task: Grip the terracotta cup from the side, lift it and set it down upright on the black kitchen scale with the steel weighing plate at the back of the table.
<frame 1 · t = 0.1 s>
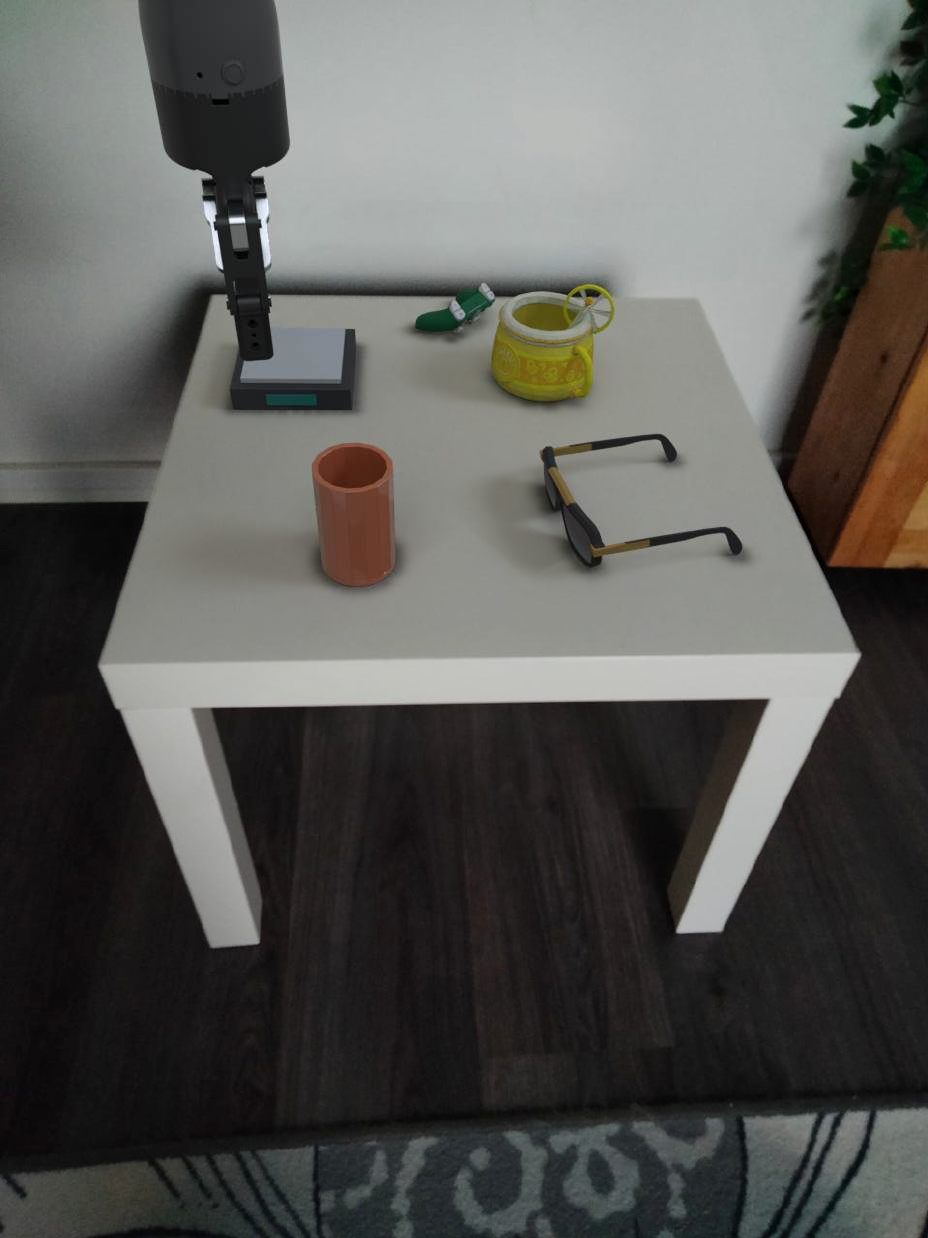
hand: (253, 325, 63), 20 cm above the table, tool pointing down, fingers open, 8 cm apart
cup: (358, 561, 76), on the table
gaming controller: (457, 325, 104), on the table
mug: (544, 387, 96), on the table
sunglasses: (629, 518, 82), on the table
scale: (297, 377, 95), on the table
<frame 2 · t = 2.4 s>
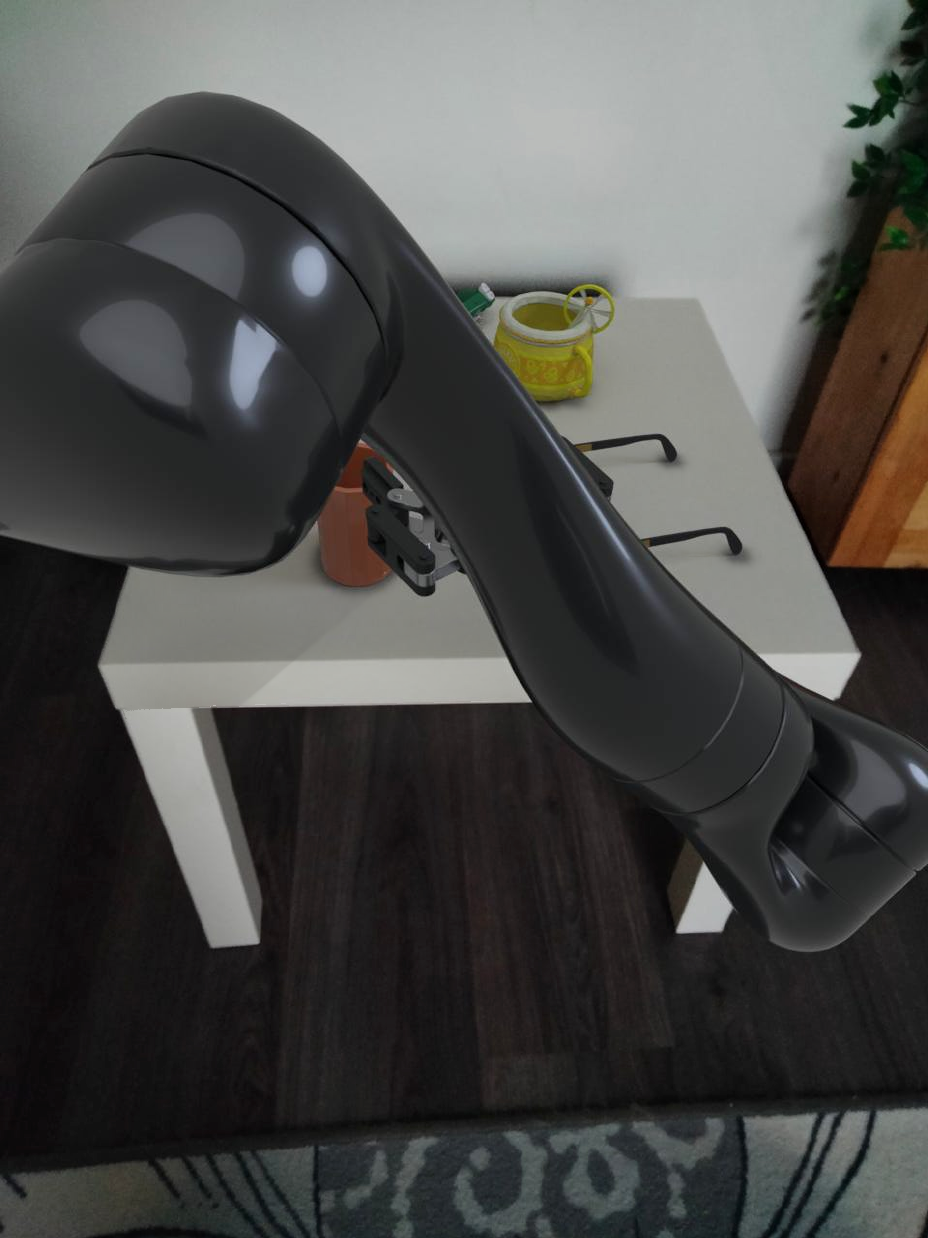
hand: (427, 448, 57), 18 cm above the table, tool horizontal, fingers open, 8 cm apart
nothing on the table moved.
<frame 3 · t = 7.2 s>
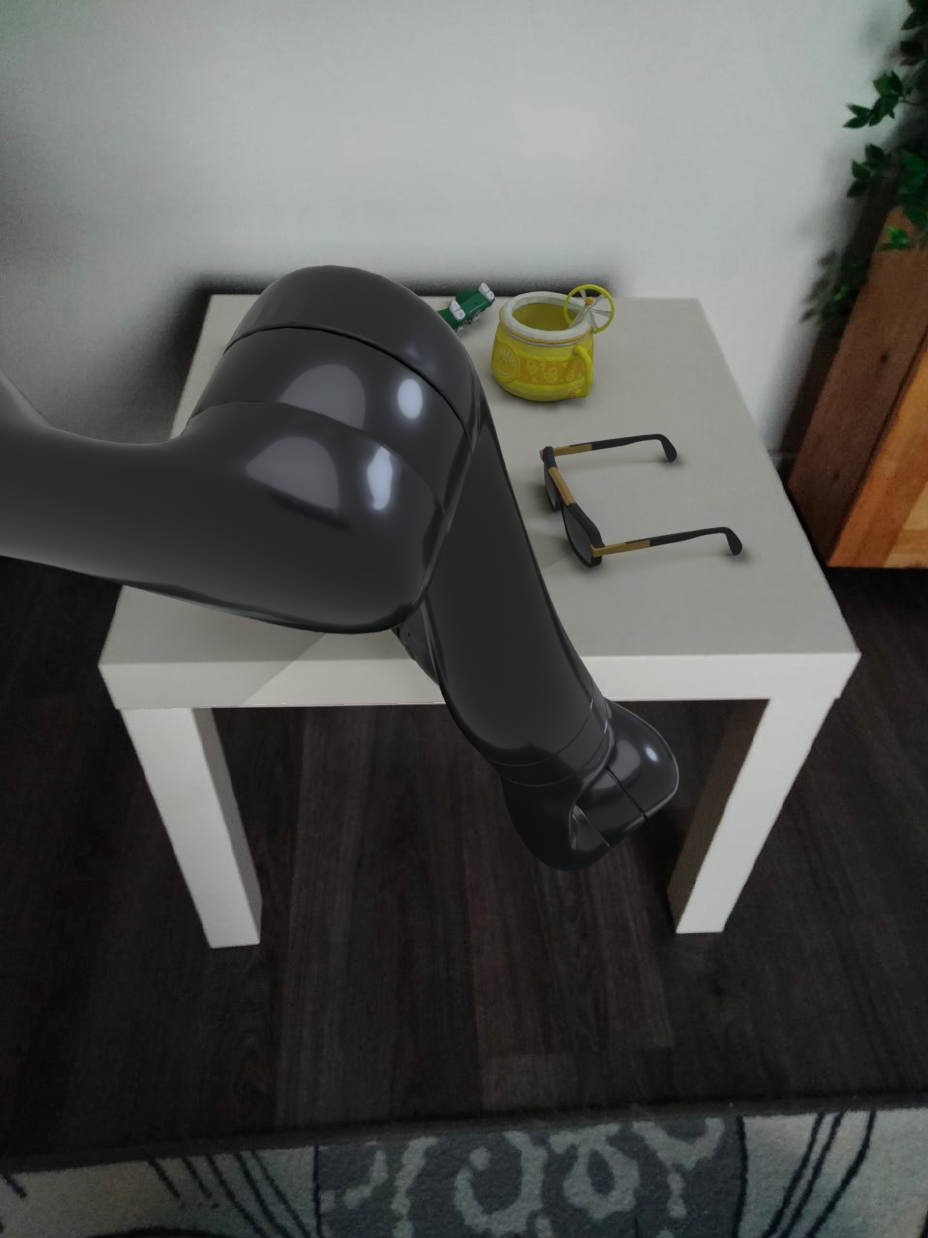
hand: (341, 490, 73), 6 cm above the table, tool horizontal, fingers closed on cup, 6 cm apart
cup: (358, 560, 76), on the table, touching gripper
everything else where it was.
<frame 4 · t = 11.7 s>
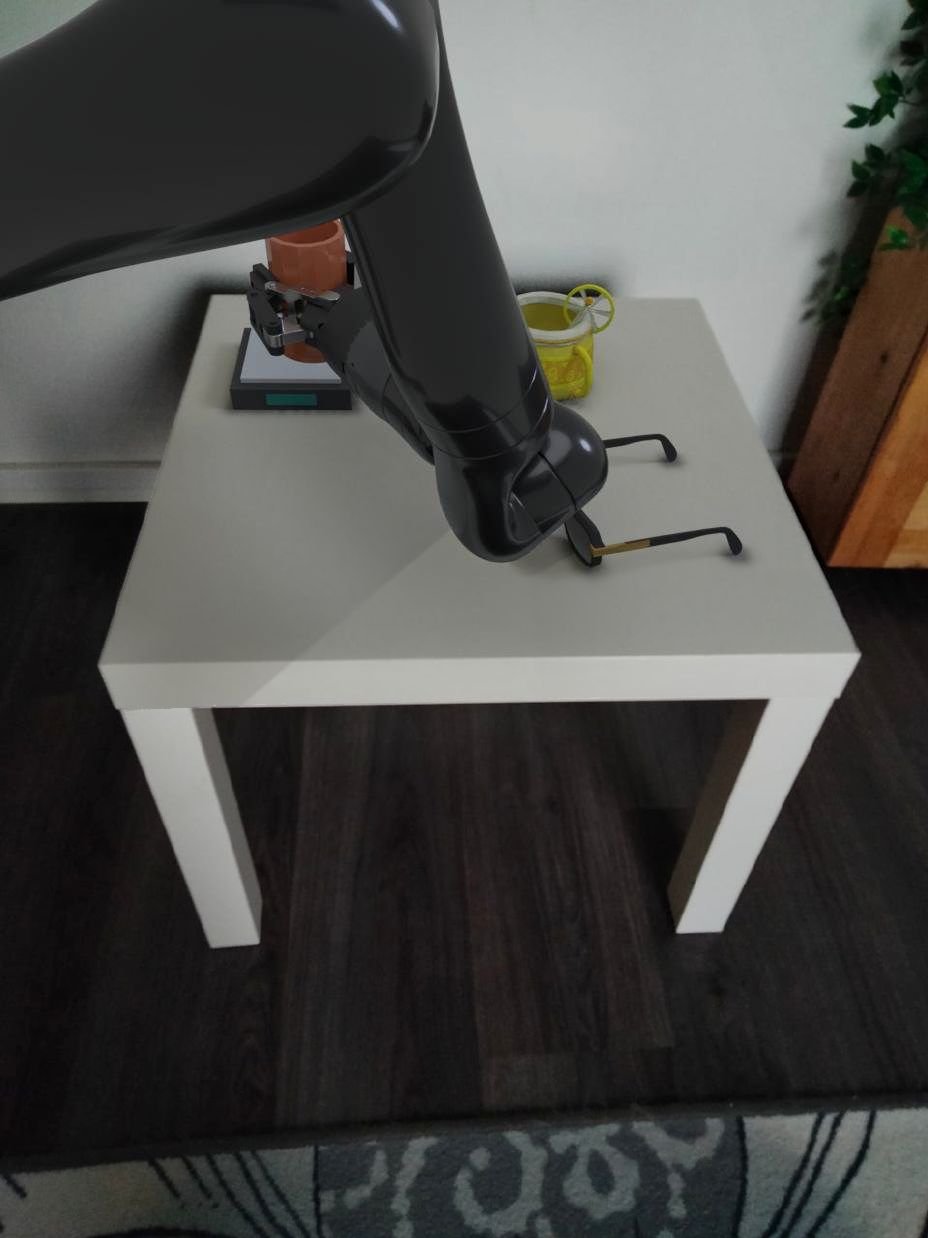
hand: (296, 266, 74), 18 cm above the table, tool horizontal, fingers closed on cup, 6 cm apart
cup: (315, 344, 77), point 12 cm above the table, touching gripper
everything else where it was.
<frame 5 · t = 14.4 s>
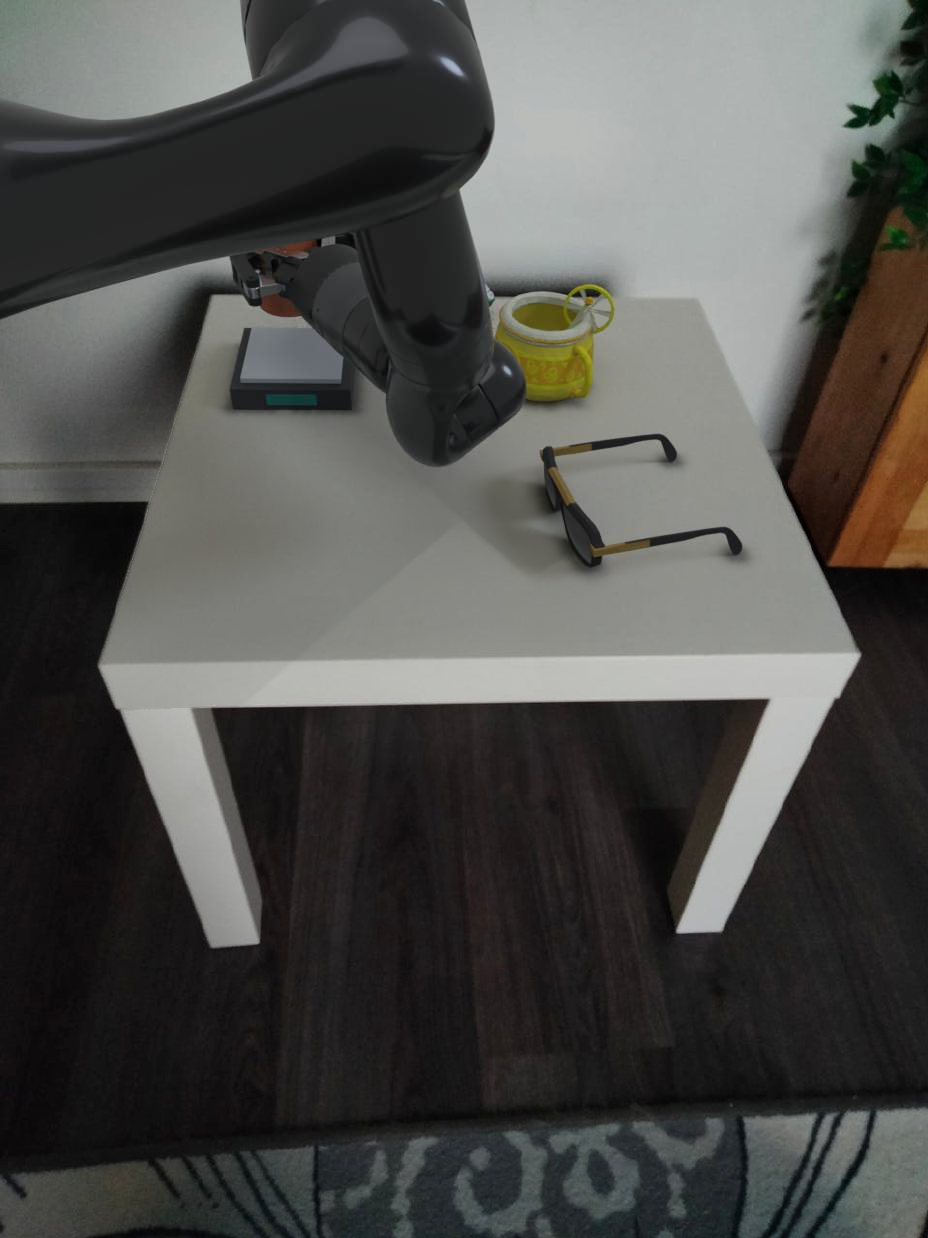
hand: (273, 232, 86), 15 cm above the table, tool horizontal, fingers closed on cup, 6 cm apart
cup: (290, 301, 89), point 9 cm above the table, touching gripper
everything else where it was.
when the fingers open (9 cm above the table, at t = 16.5 s): cup stays where it is, resting on scale.
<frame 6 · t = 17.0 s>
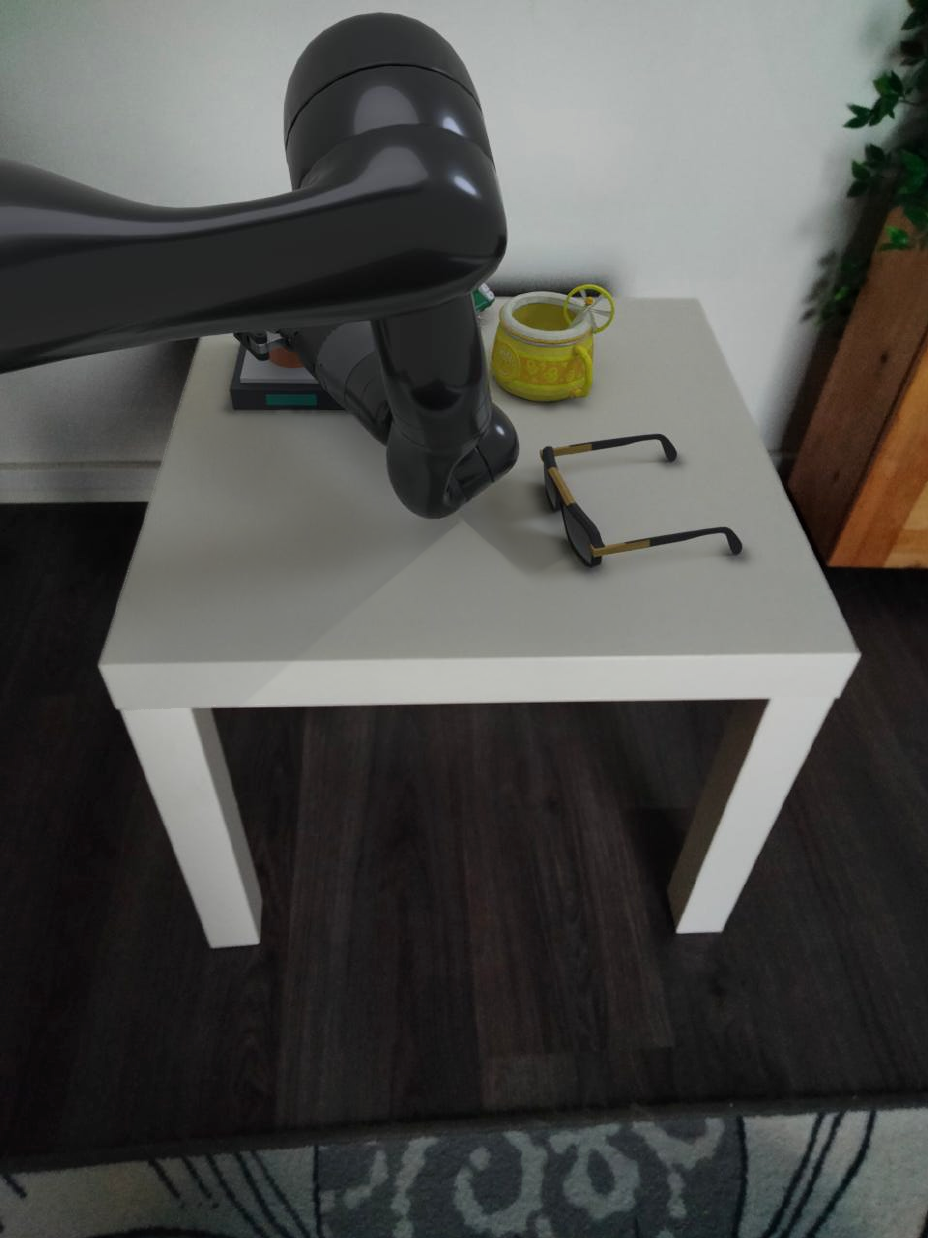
hand: (279, 284, 89), 9 cm above the table, tool horizontal, fingers open, 8 cm apart
cup: (296, 351, 93), point 3 cm above the table, touching scale
everything else where it was.
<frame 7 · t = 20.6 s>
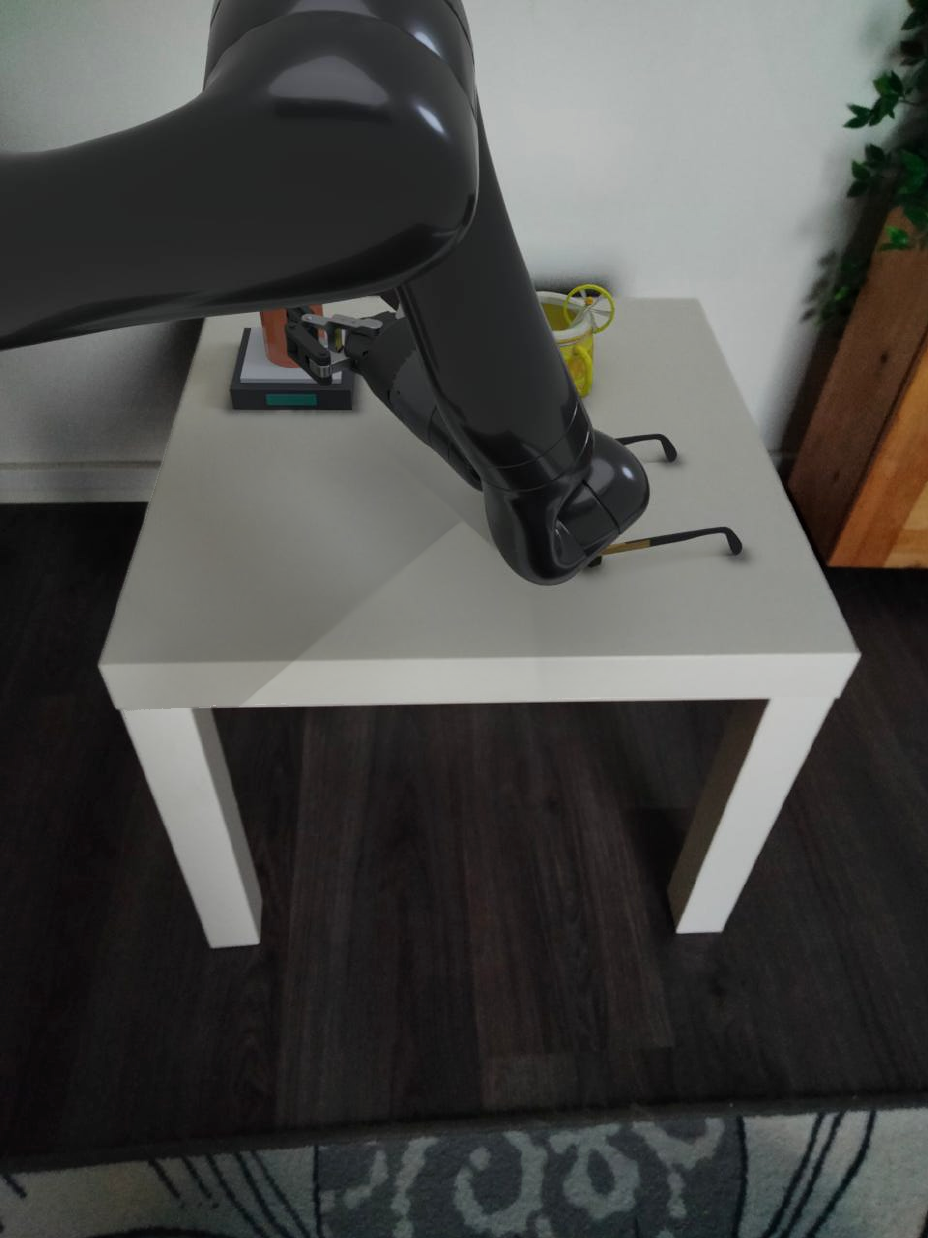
hand: (337, 294, 77), 15 cm above the table, tool horizontal, fingers open, 8 cm apart
nothing on the table moved.
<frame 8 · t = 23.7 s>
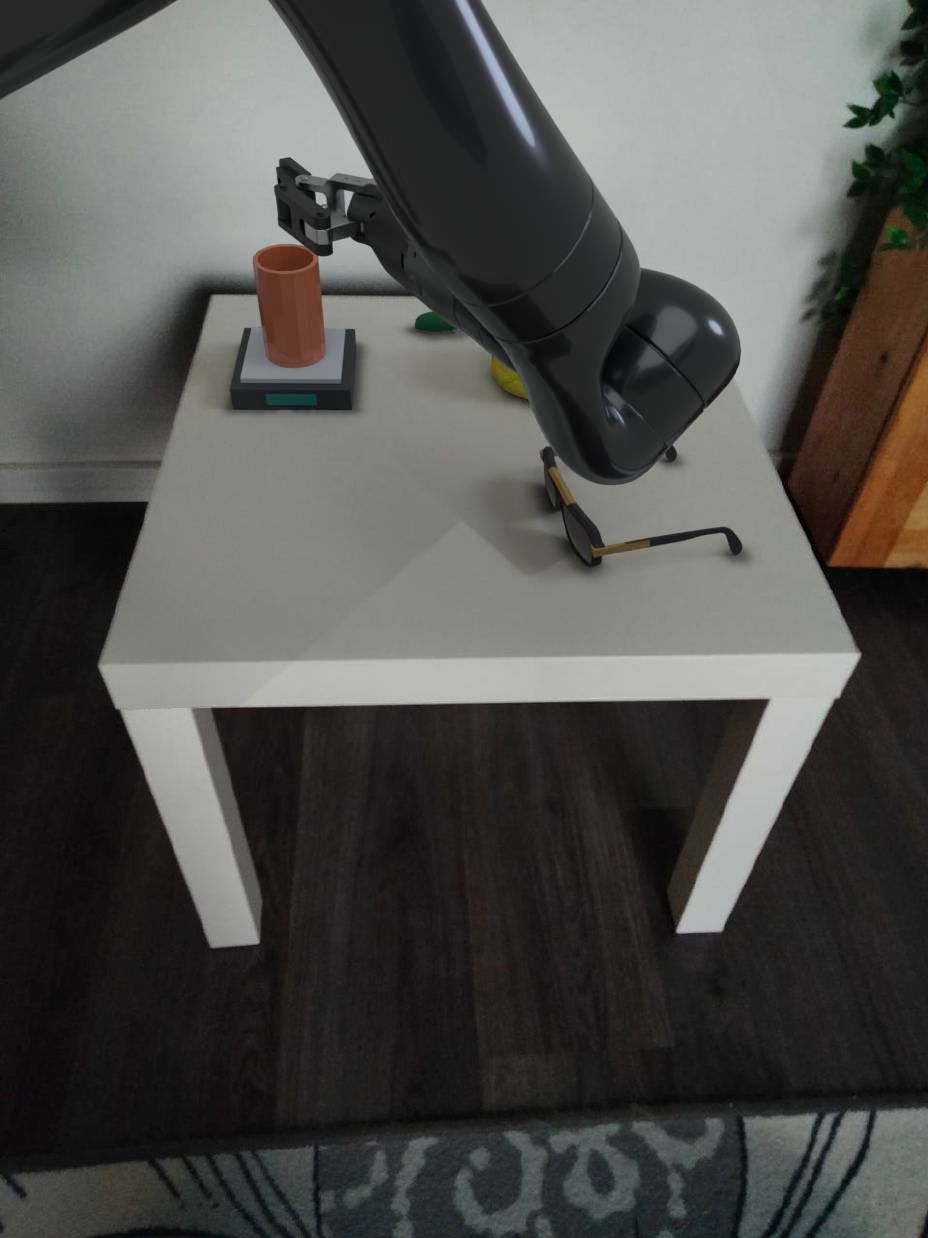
hand: (339, 161, 64), 28 cm above the table, tool horizontal, fingers open, 8 cm apart
nothing on the table moved.
at the end: cup inside the target area on the scale (0.1 cm from its centre), point 3.0 cm above the scale's base; cup tilted 0°; the gripper is holding nothing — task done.
